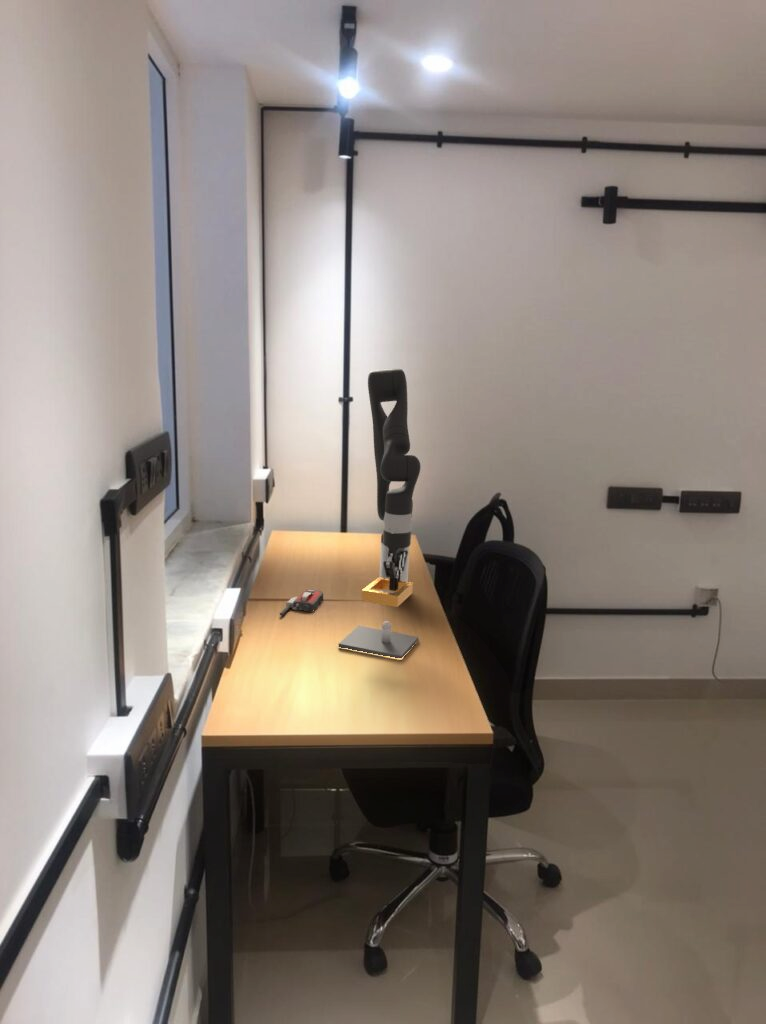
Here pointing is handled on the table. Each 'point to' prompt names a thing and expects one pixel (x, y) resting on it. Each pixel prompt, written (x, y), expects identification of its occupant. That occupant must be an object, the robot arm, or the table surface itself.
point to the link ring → (385, 598)
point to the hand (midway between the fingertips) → (394, 589)
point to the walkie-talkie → (304, 601)
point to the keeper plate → (379, 641)
